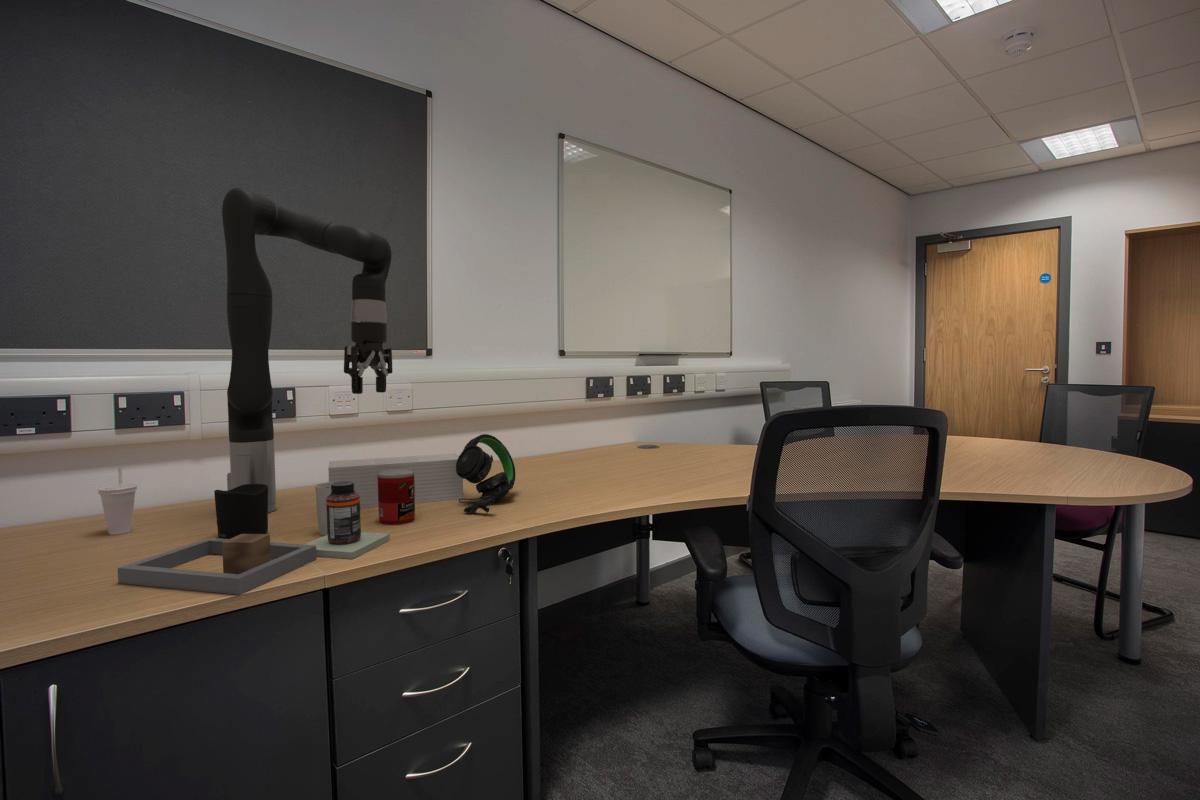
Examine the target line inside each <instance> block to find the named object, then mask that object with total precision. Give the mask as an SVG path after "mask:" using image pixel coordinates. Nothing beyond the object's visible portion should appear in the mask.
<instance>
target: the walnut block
mask: <svg viewBox="0 0 1200 800" xmlns="http://www.w3.org/2000/svg"><path fill="white" fill-rule="evenodd" d="M270 542H271V534H270V533H266V534H240V535H238V536H236V537H233V538H231V539H229V540H227V541H224V542H222V550H223V555H222V568H223V569H222V570H223V572H222V573H228V574H241V573H243V572H246V571H248V570H250V569H253V568H255V567H257V566H260V565H262V564H264V563H267V562H269V561H272V559H271V551H270Z"/></svg>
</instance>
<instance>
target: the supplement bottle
mask: <svg viewBox="0 0 1200 800" xmlns="http://www.w3.org/2000/svg"><path fill="white" fill-rule="evenodd" d="M331 490H332V492H331V494H330V495H328V496H327V498H326V507H327V508H326V509H327V534H328V541H329V542H330V543H332V544H348V543H352V542H355V541H357V540H359V539H360V537H361V532H362V529H361V527H362V526H361V508H360V497H359V494H358V493H357V492H355V491H354V482H352V481H339V482H334V483H332V484H331Z"/></svg>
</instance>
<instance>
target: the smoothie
mask: <svg viewBox="0 0 1200 800" xmlns="http://www.w3.org/2000/svg"><path fill="white" fill-rule="evenodd" d="M117 469H118V471H117V472H118V484H113V485H106V486H102V487H100V488H98V491H97V494H98V495H100V499H101V503H102V505H101V506H102V508H103V510H102V511H103V512H104V513H103V514H104V519H105V522H106V527H107V532H108V535H109V534H110V535H111V536H115V535H124V534H128V533H130V532H132V527H133V526H132V525H133V517H134V506H135V497H136V491H137V490H138V487H137V484H134V483H123V471H122V469H123V468H122V465H117Z"/></svg>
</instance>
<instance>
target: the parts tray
mask: <svg viewBox="0 0 1200 800" xmlns="http://www.w3.org/2000/svg"><path fill="white" fill-rule="evenodd" d="M227 540H229V539H221V538H219V537H207V538H205V539H201V540H198V541H195V542H192V543H189V544H186V545H183V546H179V547H177V548H174V549H171V550H168V551H165V552H161V553H159V554H155V555H153V556H149V557H147V558H144V559H140V560H138V561H134V562H131V563H129V564H125V565H122V566H119V567H117V581H118V582H117V583H118V584H125V585H133V586H136V585H137V586H145V587H155V588H163V589H175V590H184V591H197V592H205V593H207V592H208V593H216V594H227V595H237V596H240V595H243V594H245V593H246V592H249V591H251V590H253V589H255V588H257V587H260V586H261V585H264V584H266V583H268V582H270V581H273V580H274V579H277V578H279V577H281V576H284V575H286V574H287V572H288V573H289V572H292V571H293V570H296V569H299V568H301V567H302V565H303V566H304V564H305V565H307V564H309V563H311V562H313V561H316V560H317V559H318V558H317V557H318V556H316V545H304V544H301V543H300V544H299V543H288V542H273V541H270V551H271V561H269V562H267V563H264V564H262V565H260V566H257V567H255V568H253V569H250V570H248V571H246V572H243V573H241V574H228V573H223V572H213V571H203V570H191V569H180V568H175V567H177V566H180V565H183V564H186V563H188V562H191V561H193V560H197V559H199V558H203V557H205V556H208V555H220V556H221V555H222V556H223V550H222V542H224V541H227Z"/></svg>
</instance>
